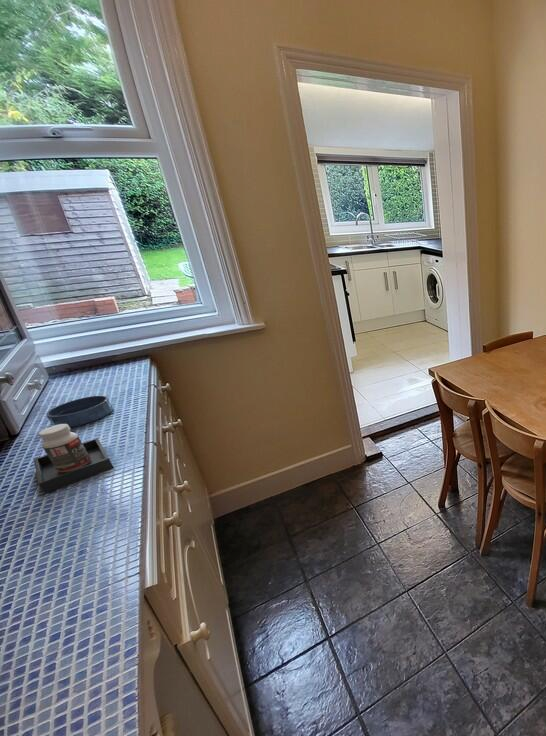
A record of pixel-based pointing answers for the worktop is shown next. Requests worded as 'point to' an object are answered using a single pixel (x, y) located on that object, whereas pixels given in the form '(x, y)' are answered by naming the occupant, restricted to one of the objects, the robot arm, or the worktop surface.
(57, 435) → the pill bottle
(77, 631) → the worktop surface
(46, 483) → the tray
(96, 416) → the bowl
